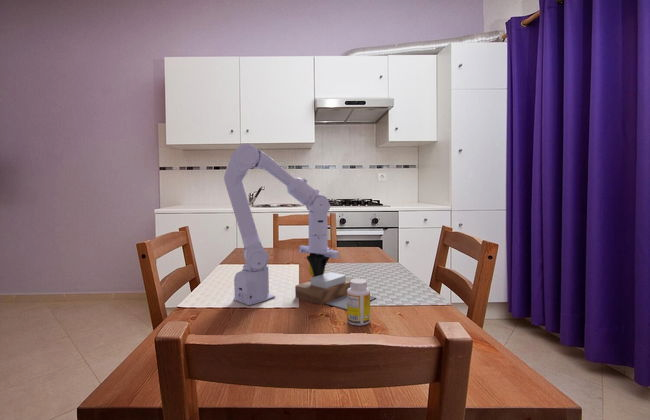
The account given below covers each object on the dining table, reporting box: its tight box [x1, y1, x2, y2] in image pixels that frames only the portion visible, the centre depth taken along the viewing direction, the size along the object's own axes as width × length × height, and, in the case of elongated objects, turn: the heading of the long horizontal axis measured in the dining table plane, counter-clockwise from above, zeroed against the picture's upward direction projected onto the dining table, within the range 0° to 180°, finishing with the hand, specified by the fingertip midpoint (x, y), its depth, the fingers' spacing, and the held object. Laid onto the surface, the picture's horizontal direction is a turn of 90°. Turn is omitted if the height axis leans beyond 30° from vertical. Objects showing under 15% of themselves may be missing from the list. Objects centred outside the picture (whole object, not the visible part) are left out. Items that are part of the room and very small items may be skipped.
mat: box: [325, 295, 377, 311], centre depth 106 cm, size 13×8×1 cm, turn 139°
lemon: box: [308, 263, 326, 278], centre depth 128 cm, size 6×6×8 cm
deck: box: [294, 277, 354, 306], centre depth 112 cm, size 16×10×4 cm, turn 139°
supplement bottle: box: [346, 278, 371, 327], centre depth 90 cm, size 6×6×10 cm
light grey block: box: [310, 271, 347, 289], centre depth 111 cm, size 9×6×2 cm, turn 139°
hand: (318, 278), depth 114 cm, fingers closed
